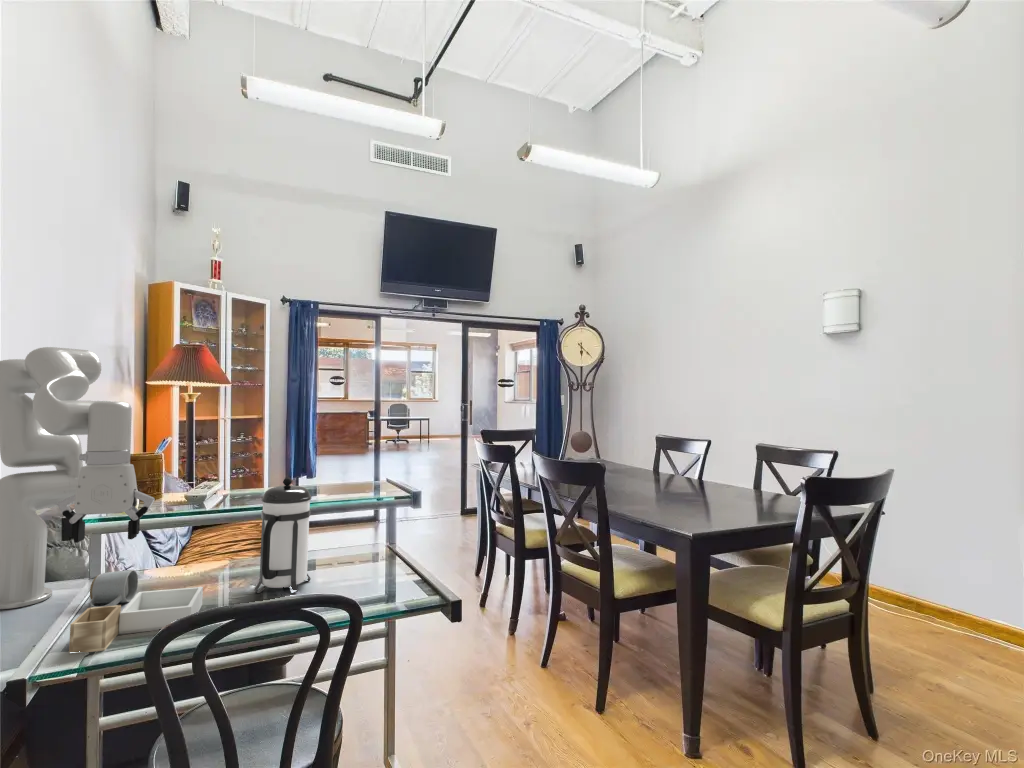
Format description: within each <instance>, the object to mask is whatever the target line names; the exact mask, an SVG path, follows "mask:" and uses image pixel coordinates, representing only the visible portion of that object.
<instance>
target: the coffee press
mask: <svg viewBox="0 0 1024 768" xmlns="http://www.w3.org/2000/svg"><path fill="white" fill-rule="evenodd" d="M292 482H293V481H292V479H291V478H290V477H285V478H284V479H283V481H282V483H283V485H281V486H280V485H279V486H274V487H270V488H269V489H267V490H266V491H265V492H264V494H263V496H262V497H261V499H260V500H261V502H262V510H261V517H260V518H261V519H262V520H261V533H260V534H261V539H260V561H259V563H260V565H259V580H258V583H257V585H256V586H255V587H254V592H256V593H257V594H261V593H262V592H263V591H264V590H265V589H266V588H273V589H283V587H284V588H288V587H290V586H291V587H292V589H293V590H297V591H298V585H299V584H302V583H304V582H305V583H309V582H311V579H312V578H311V577H310V575H309V573H308V562H309V561H308V554H309V535H310V534H309V532H310V531H309V530H310V516H311V508H310V505H311V500H312V495H311V493H310V491H309V490H308V489H307V488H306V487H303V486H299V485H291V484H292ZM306 580H308V582H306ZM261 585H262V587H261V588H260V586H261ZM259 588H260V589H259Z"/></svg>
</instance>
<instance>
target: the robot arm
mask: <svg viewBox="0 0 1024 768" xmlns="http://www.w3.org/2000/svg"><path fill="white" fill-rule="evenodd" d="M101 372H102V363H101V360H100V359H99V357H98V355H97V354H95V352H92V351H90V350H86V349H79V348H78V349H76V348H66V347H56V346H55V347H54V346H52V347H51V346H45V347H38V348H36V349H33V350H31V351H30V352H29V353H27V355H26V356H25V359H23V358H22V359H21V358H19V359H18V358H17V359H15V358H14V359H10V358H9V359H3V360H0V460H1V462H2V463H3V465H4V466H6V467H8V468H19V469H21V468H34V467H35V468H37V467H50V466H53V467H54V468H55V469H54V470H43V471H41V470H38V471H28V472H27V471H26V472H17V473H12V474H8V475H6V476H4V477H2V478H0V610H10V609H16V608H22V607H26V606H31V605H35V604H37V603H41V602H43V601H46V600H48V599H49V598H51V596H53V590H52V588H49V587H46V585H45V581H46V566H47V565H46V564H47V563H46V562H47V547H48V543H47V542H48V525H47V523H46V521H45V519H43V518H42V517H41V516H39V514H38V513H37V511H40V510H44V509H50V508H51V509H53V508H58V509H59V511H60V512H61V513H62V514H61V515H62V516H63V517H65V518H66V519H67V520H68V521H69V523H70V524H71V538H72V539H73V543H74V544H75V543H80V542H82V541H84V540H85V538H86V536H85V535H86V521H85V520H84V518H85V517H86V516H88V515H104V514H105V515H106V514H121V513H125V514H126V515H127V516H128V517H129V518H130V520H129V521H127V523H128V524H127V540H133V539H136V538H137V536H138V535H139V534H140V520H141V518H142V517H143V516H144V515H145V514H146V513H147V512H149V510H150V508H151V507H152V505H153V504H154V502H155V500H156V499H155V497H153V496H151V495H149V494H146V493H144V492H142V491H139V490H138V485H137V476H136V472H135V470H136V469H135V466H134V464H132V463H131V444H132V442H131V441H132V415H133V412H132V411H133V409H132V408H133V407H132V405H131V404H130V403H129V402H125V401H108V400H80V399H81V398H83V397H84V396H85V395H86V393H87V392H88V391H89V388H90V385H92V384H94V383H95V382H96V381H97V380H98V379H99V378H100V375H101V374H102V373H101ZM27 394H34V395H33V398H31V397H30V396H28V395H27ZM85 435H87V439H86V440H87V442H86V445H87V446H86V451H85V453H83V451H82V450H83V449H82V443H81V440H80V439H81V438H79V436H85ZM83 461H84V462H85V465H84V464H83ZM83 465H84V466H83ZM138 500H140V501H142V502H143V505H142V507H141V508H140V509H138V507H137V503H138ZM71 505H74V510H73V509H71V507H70V506H71Z"/></svg>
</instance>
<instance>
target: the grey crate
mask: <svg viewBox="0 0 1024 768" xmlns="http://www.w3.org/2000/svg"><path fill="white" fill-rule="evenodd" d="M203 592H204V587H203V586H197V587H196V586H195V587H184V588H183V587H182V588H173V589H172V588H171V589H170V588H169V589H159V590H148V591H147V590H146V591H139V592H137V593H136V594H135V597H134V598H133V599H132V600H131V601H130V602H128V603H127V604H126V605H125V607H124V608H123V609H121V613H120V620H119V634H118V635H124V634H125V635H127V634H133V633H136V634H137V633H145V632H154V631H160V630H159V629H161V628H162V627H164V626H166V625H168V624H170V623H171V622H173V621H175V620H177V619H180V618H183V617H186V616H188V615H191V614H194V613H196V612H198V613H199V611H200V609H201V608H202V606H203V595H204V593H203Z"/></svg>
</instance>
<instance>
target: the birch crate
mask: <svg viewBox="0 0 1024 768" xmlns="http://www.w3.org/2000/svg"><path fill="white" fill-rule="evenodd" d="M104 606H105V605H104ZM121 611H122V604H117V605H116V606H105V607H93V608H91V607H87V608H86V609H85V610H84V611H83V612H82V613H81V614H80V615H79V616H78V617H76V618H75V620H74V621H73V622H72V623H70V625H69V626H70V627H69V641H68V642H69V645H68V647H69V648H68V653H69V652H79V651H80V652H85V653H92V652H100V651H101V652H102V651H103V652H104V651H106V650H107V648H109V646H110V645H111V644H112V642H113V641H114V640H115V639H116V637H118V635H120V634H119V620H120V613H121Z"/></svg>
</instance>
